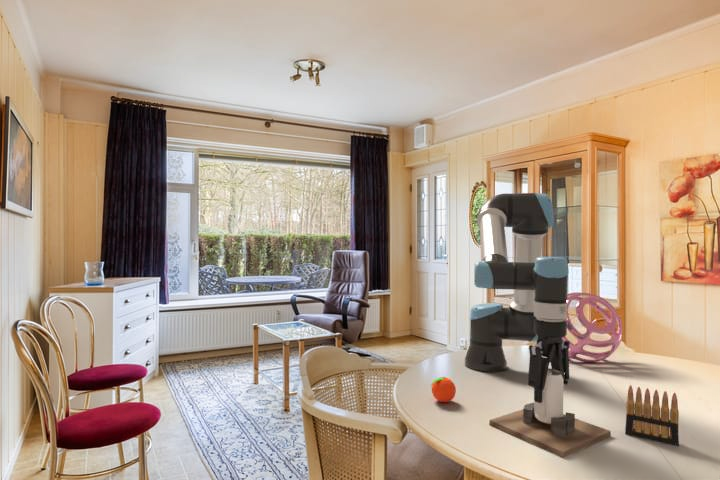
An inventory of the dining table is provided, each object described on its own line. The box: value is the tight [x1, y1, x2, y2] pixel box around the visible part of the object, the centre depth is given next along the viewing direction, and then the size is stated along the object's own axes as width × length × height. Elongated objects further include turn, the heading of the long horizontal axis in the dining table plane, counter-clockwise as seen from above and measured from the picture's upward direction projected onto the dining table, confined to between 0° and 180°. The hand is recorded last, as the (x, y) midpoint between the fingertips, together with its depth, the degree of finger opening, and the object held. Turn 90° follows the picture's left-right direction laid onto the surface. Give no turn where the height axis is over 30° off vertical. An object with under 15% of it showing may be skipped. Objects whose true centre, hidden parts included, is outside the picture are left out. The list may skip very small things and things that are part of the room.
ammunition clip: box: [624, 384, 680, 447], centre depth 106 cm, size 11×2×12 cm, turn 56°
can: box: [535, 367, 565, 424], centre depth 110 cm, size 6×6×12 cm
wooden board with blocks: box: [488, 402, 612, 458], centre depth 109 cm, size 20×20×5 cm
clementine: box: [430, 376, 457, 403], centre depth 128 cm, size 8×7×7 cm
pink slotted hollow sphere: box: [562, 291, 623, 363], centre depth 178 cm, size 28×28×27 cm
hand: (548, 411), depth 110 cm, fingers closed on can, 6 cm apart
